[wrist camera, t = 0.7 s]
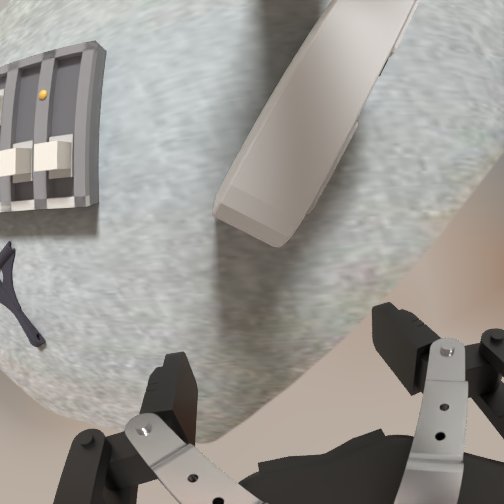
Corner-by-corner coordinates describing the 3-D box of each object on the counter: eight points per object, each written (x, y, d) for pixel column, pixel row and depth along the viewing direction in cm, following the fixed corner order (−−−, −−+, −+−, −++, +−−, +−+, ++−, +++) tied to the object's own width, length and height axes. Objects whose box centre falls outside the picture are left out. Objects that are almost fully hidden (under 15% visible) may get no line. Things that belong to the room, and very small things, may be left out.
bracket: (25, 357, 41) (18, 365, 38) (-25, 289, 37) (-34, 295, 34) (70, 318, 40) (62, 327, 37) (12, 239, 36) (2, 244, 33)
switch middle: (15, 144, 29) (-4, 143, 25) (35, 140, 30) (16, 138, 25) (15, 182, 30) (-4, 185, 26) (35, 180, 31) (16, 183, 27)
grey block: (270, 225, 39) (311, 272, 21) (214, 196, 37) (209, 221, 20) (368, 45, 33) (446, -6, 16) (320, 15, 32) (377, -57, 15)
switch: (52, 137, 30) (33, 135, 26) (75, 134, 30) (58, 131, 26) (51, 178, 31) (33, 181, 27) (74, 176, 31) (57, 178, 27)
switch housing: (-2, 79, 29) (-19, 73, 24) (106, 51, 31) (94, 39, 26) (-8, 209, 34) (-25, 214, 30) (98, 202, 36) (85, 206, 31)
